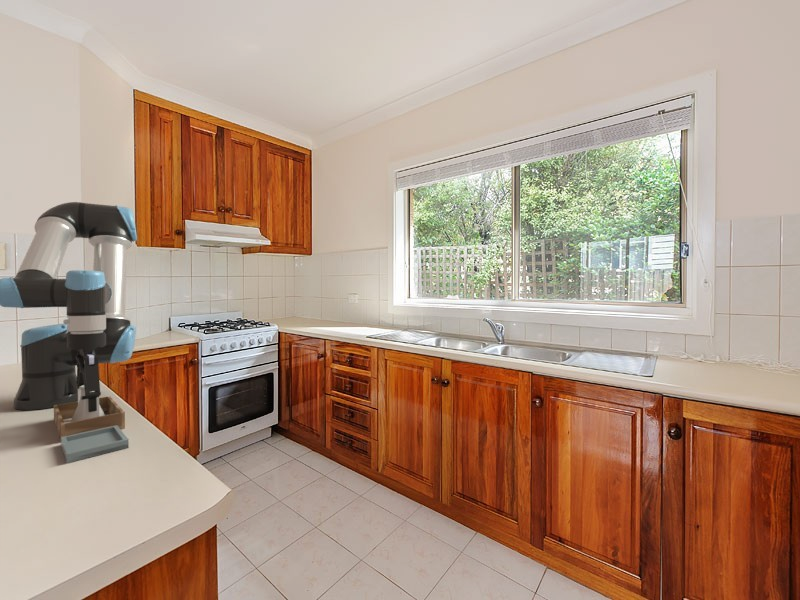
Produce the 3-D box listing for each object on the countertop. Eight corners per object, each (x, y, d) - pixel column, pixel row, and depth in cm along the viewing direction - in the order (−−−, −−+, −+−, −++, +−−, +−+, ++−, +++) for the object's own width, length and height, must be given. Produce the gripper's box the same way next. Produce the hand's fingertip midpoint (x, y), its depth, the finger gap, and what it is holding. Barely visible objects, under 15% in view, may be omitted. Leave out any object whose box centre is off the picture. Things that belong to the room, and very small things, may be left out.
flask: (85, 431, 89) (84, 390, 89) (61, 428, 91) (60, 388, 90) (114, 420, 96) (113, 382, 96) (91, 418, 98) (90, 381, 97)
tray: (60, 445, 81) (60, 437, 81) (117, 432, 88) (117, 425, 88) (66, 463, 73) (66, 454, 73) (128, 447, 80) (128, 439, 80)
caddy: (54, 420, 96) (53, 405, 96) (110, 410, 104) (109, 396, 104) (61, 442, 83) (61, 424, 83) (125, 428, 91) (124, 412, 91)
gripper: (61, 329, 98) (63, 410, 99) (72, 337, 82) (74, 435, 83) (98, 327, 103) (99, 404, 104) (114, 335, 87) (116, 426, 88)
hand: (88, 418), depth 93 cm, fingers open, 11 cm apart
